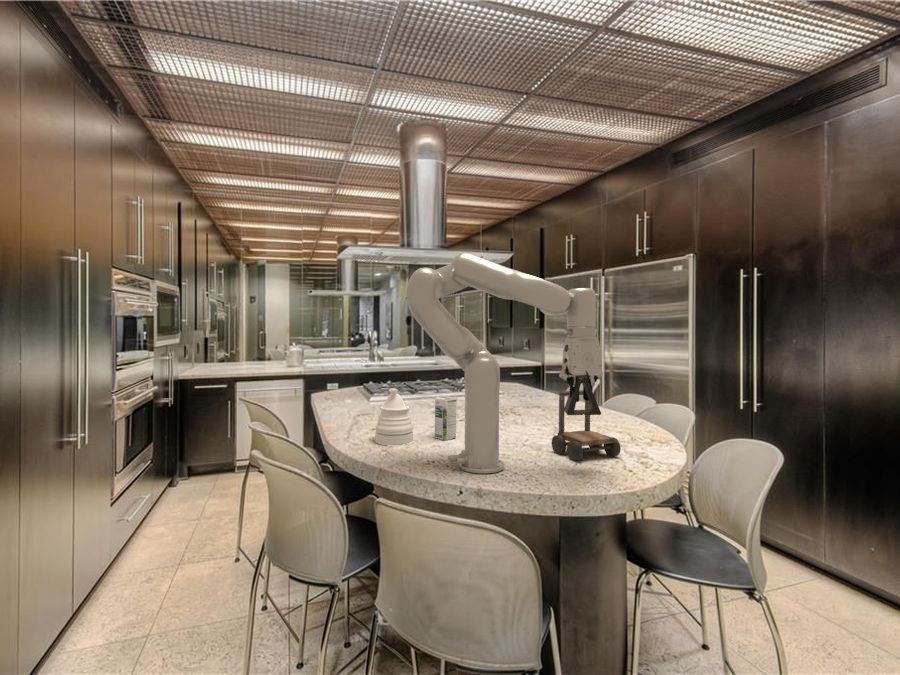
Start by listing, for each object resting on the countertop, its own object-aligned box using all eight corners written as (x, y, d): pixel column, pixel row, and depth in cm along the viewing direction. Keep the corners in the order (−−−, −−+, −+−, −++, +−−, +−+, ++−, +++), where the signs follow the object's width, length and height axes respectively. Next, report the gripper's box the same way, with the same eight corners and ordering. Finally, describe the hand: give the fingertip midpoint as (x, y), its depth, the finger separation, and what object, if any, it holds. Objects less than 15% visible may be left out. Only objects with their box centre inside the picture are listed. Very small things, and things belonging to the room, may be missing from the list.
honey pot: (411, 446, 152) (411, 391, 151) (372, 445, 152) (372, 391, 152) (414, 437, 164) (414, 386, 164) (378, 436, 165) (379, 386, 164)
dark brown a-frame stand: (566, 415, 123) (565, 370, 123) (563, 411, 129) (562, 368, 129) (601, 414, 122) (600, 369, 122) (596, 410, 128) (595, 368, 128)
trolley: (578, 463, 133) (579, 397, 133) (551, 451, 146) (552, 391, 146) (620, 458, 139) (621, 394, 139) (591, 447, 152) (591, 389, 151)
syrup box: (433, 438, 163) (434, 397, 163) (445, 435, 167) (446, 395, 167) (444, 441, 159) (444, 399, 159) (456, 438, 163) (457, 397, 163)
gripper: (563, 333, 119) (563, 404, 119) (615, 333, 125) (615, 401, 125) (547, 333, 126) (547, 400, 126) (597, 333, 132) (597, 397, 132)
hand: (581, 400), depth 126 cm, fingers closed on dark brown a-frame stand, 3 cm apart
